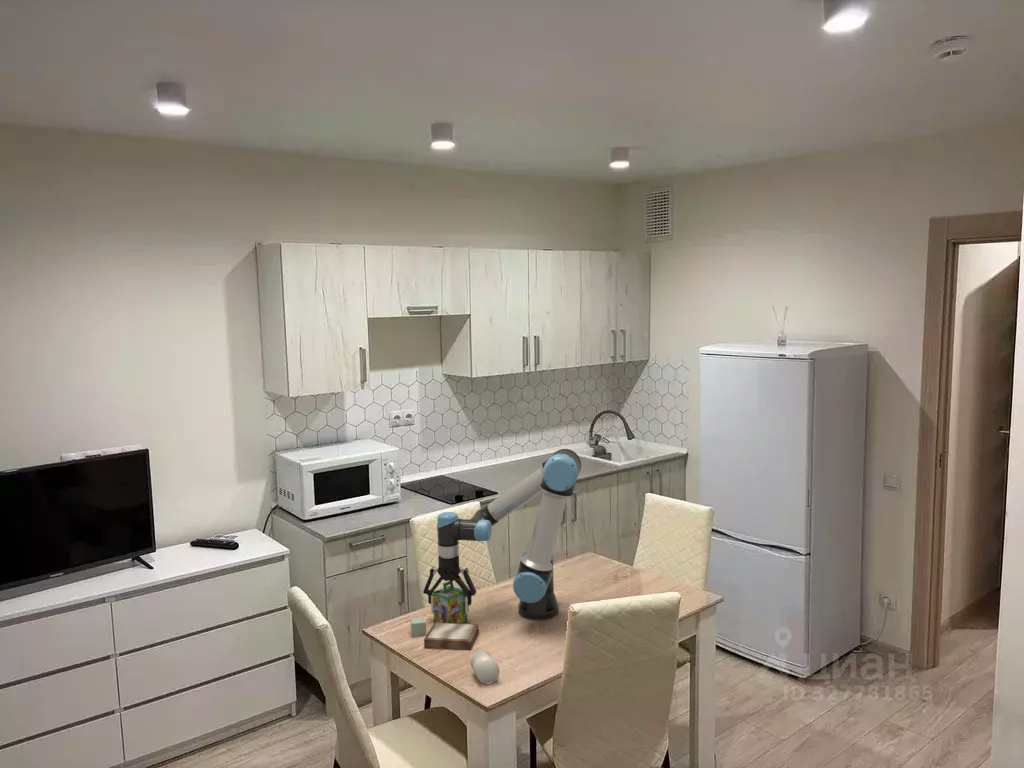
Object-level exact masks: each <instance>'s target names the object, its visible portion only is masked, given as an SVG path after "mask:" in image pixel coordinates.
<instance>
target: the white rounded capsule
mask: <svg viewBox="0 0 1024 768" xmlns="http://www.w3.org/2000/svg"><path fill="white" fill-rule="evenodd" d="M470 659H471V660H470V667H471V669H472V670H473V673H474V674H475V676H476V677H477V679H478V680H479V682H480V683H482V684H484V685H486V684H485V683H490V682H493V683H494V682H496V681H497V680H498V678H499V676H500V666H499V665H498V663H497V662H496V660H495V659H494V657H493V656H492V655H491V652H489V651H487V650H479V651H477V652H475V653H474V654H473V655H472V656H471V658H470ZM490 684H491V683H490Z"/></svg>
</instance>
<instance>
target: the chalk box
mask: <svg viewBox="0 0 1024 768" xmlns="http://www.w3.org/2000/svg"><path fill="white" fill-rule="evenodd" d="M442 585H443V587H442V588H440V589H438V590H434V592H433V593H432V594H433V606H434V613H433V623H434V622H436V623H461V624H465V623H466V622H468V615H466V609H465V597H466V594H465V593H464V591H463V590H462V589H461V588H458V587H456V586H454V581H445V582H444V583H443V584H442ZM448 585H449V586H448Z"/></svg>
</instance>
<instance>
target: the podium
mask: <svg viewBox="0 0 1024 768" xmlns="http://www.w3.org/2000/svg"><path fill="white" fill-rule="evenodd" d="M479 631H480V629H479V624H478V623H436V622H434V621H433V624H432V626H431V627H430V629H429V631H428V632H427V633H426V634H427V635H426V636H424V639H423V647H424V649H439V650H440V649H441V650H442V649H443V650H461V651H471V650H472V649H473V646H474V644H475V641H476V639H477V638H478V635H479V634H480V632H479Z"/></svg>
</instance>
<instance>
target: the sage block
mask: <svg viewBox="0 0 1024 768" xmlns="http://www.w3.org/2000/svg"><path fill="white" fill-rule="evenodd" d="M410 631H411V638H420V637H426V635H427V634H428V633H427V621H426V617H425V616H420V617H411V618H410Z"/></svg>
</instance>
